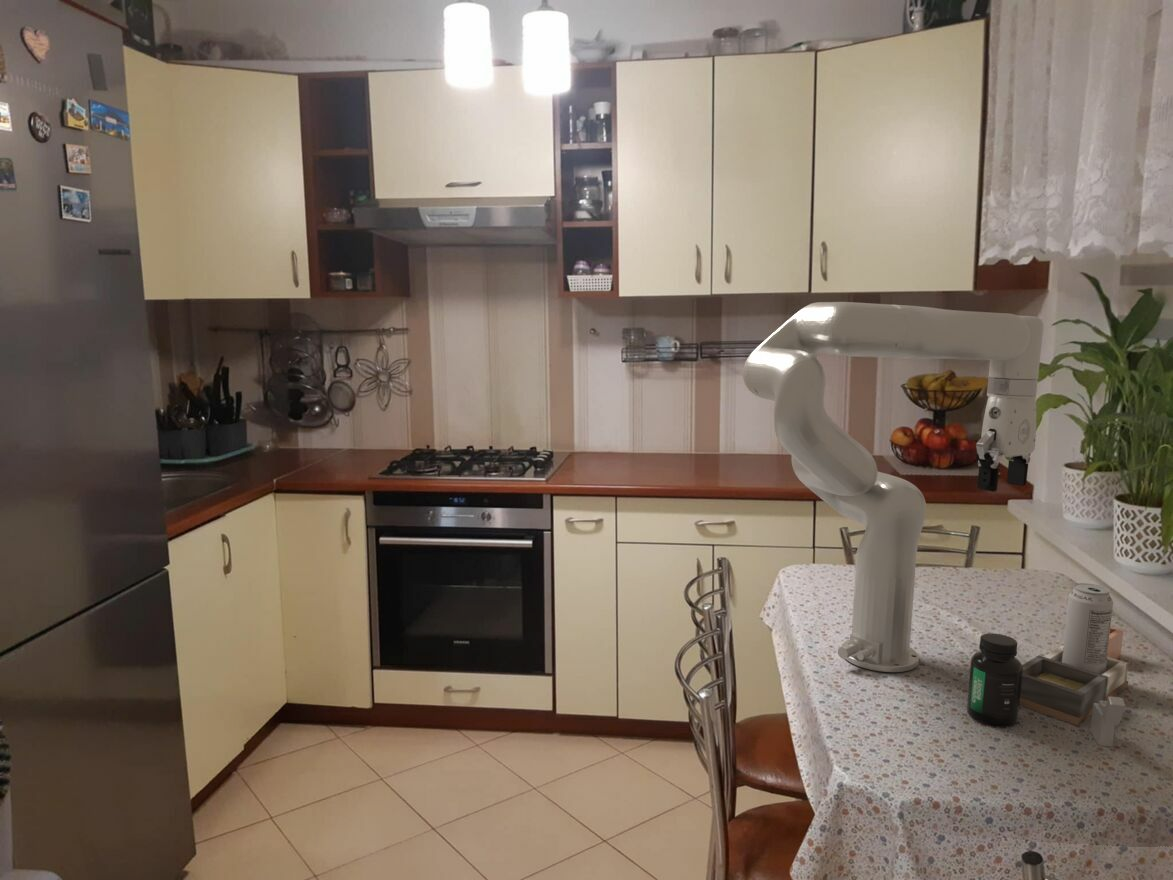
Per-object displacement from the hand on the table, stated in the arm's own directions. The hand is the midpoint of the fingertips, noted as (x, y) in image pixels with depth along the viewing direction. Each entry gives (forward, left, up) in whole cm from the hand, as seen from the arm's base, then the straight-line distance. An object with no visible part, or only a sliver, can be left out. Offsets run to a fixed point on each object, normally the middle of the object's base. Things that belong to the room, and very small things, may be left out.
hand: (1001, 487), depth 145 cm
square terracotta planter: (+9, -14, -29) cm, 33 cm away
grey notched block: (-22, -26, -29) cm, 45 cm away
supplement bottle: (-26, -13, -29) cm, 41 cm away
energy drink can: (-4, -17, -28) cm, 33 cm away
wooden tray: (-9, -17, -29) cm, 35 cm away
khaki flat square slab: (-14, -17, -27) cm, 35 cm away
